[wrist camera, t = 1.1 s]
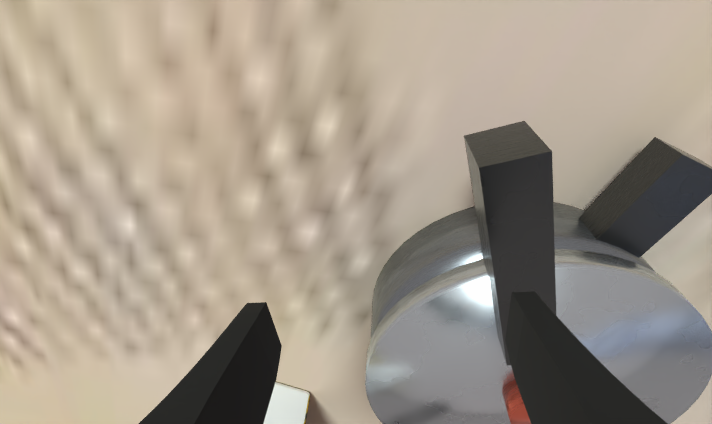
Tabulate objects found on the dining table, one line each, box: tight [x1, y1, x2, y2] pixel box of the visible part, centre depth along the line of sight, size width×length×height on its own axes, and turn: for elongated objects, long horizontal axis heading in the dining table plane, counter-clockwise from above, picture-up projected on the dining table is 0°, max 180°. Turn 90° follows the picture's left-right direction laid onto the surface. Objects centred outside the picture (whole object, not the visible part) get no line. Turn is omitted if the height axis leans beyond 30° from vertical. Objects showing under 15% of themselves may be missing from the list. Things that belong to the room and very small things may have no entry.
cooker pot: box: [371, 137, 712, 338], centre depth 21 cm, size 20×16×4 cm
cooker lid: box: [365, 121, 712, 424], centre depth 18 cm, size 22×16×3 cm
